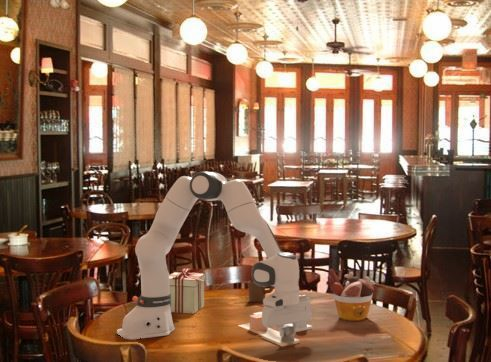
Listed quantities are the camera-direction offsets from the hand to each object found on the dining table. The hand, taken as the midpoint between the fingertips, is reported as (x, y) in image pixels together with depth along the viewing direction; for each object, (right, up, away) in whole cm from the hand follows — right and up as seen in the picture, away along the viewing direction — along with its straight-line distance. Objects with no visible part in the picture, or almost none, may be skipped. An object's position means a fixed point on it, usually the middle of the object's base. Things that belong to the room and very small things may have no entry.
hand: (287, 335), depth 242 cm
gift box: (-41, -1, +55) cm, 68 cm away
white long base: (-7, -2, +11) cm, 13 cm away
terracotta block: (-10, -1, +16) cm, 19 cm away
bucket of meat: (+29, -1, +35) cm, 45 cm away
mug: (-8, 0, +66) cm, 67 cm away
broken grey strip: (-1, -2, +29) cm, 29 cm away
